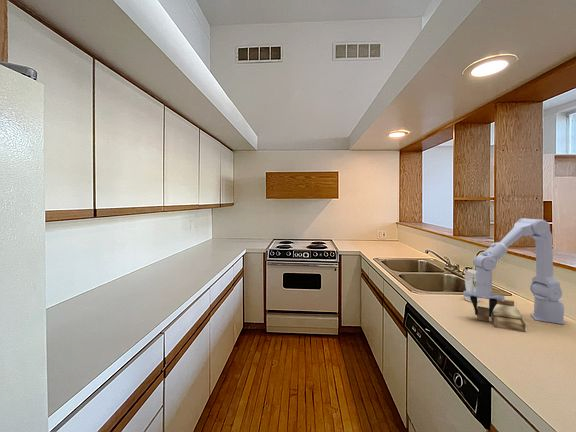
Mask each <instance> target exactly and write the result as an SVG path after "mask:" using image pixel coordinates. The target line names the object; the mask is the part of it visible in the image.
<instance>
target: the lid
mask: <svg viewBox="0 0 576 432" xmlns="http://www.w3.org/2000/svg"><path fill="white" fill-rule="evenodd" d="M492 312H493V315H497V316H503V317H510V318H517V319H523V315H522V314H521V312H520V310H519V309H518V307H517V305H515V301H514V300H510V299H505V300H504V301H500V300H497V305H496V306H495V307H494V309H493V311H492Z"/></svg>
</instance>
